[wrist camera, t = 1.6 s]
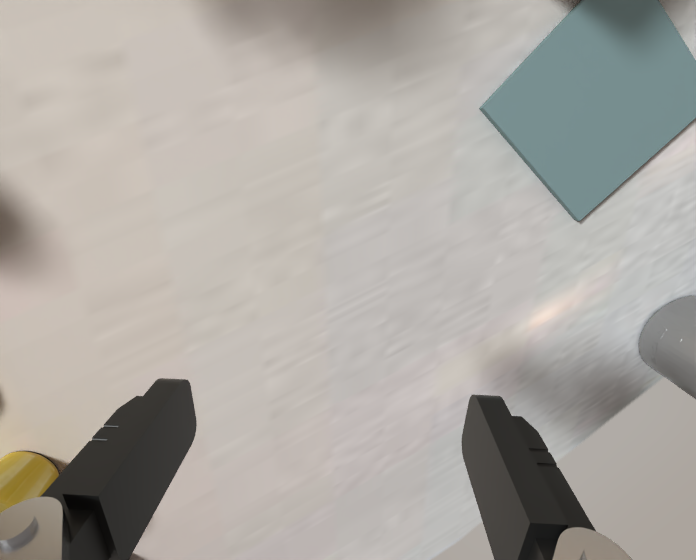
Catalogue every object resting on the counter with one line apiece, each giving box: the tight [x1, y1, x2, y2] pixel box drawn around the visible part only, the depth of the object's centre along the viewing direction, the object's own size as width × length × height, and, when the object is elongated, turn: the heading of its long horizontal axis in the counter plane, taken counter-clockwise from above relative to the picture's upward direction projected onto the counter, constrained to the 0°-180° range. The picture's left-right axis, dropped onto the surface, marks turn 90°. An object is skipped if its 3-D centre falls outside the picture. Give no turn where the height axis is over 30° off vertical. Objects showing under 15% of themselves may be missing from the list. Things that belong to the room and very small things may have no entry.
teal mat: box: [479, 0, 696, 221], centre depth 30 cm, size 14×14×1 cm
